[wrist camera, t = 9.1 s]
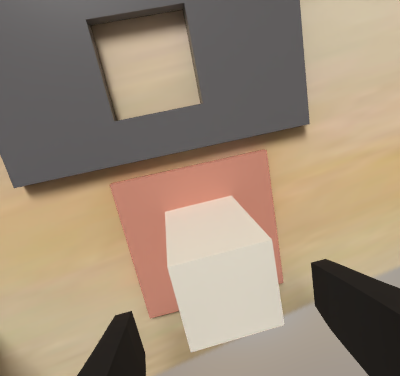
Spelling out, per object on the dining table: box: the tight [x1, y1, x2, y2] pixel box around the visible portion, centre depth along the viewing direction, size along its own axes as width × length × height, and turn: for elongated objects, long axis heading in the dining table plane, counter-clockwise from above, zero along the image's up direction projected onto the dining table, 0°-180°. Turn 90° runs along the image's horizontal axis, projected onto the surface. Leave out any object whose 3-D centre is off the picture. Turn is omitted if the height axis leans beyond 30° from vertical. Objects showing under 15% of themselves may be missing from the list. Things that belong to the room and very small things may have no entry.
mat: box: [110, 150, 283, 318], centre depth 16 cm, size 9×9×1 cm
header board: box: [0, 0, 310, 188], centre depth 13 cm, size 16×9×1 cm, turn 101°
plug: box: [165, 195, 284, 352], centre depth 13 cm, size 4×4×6 cm
